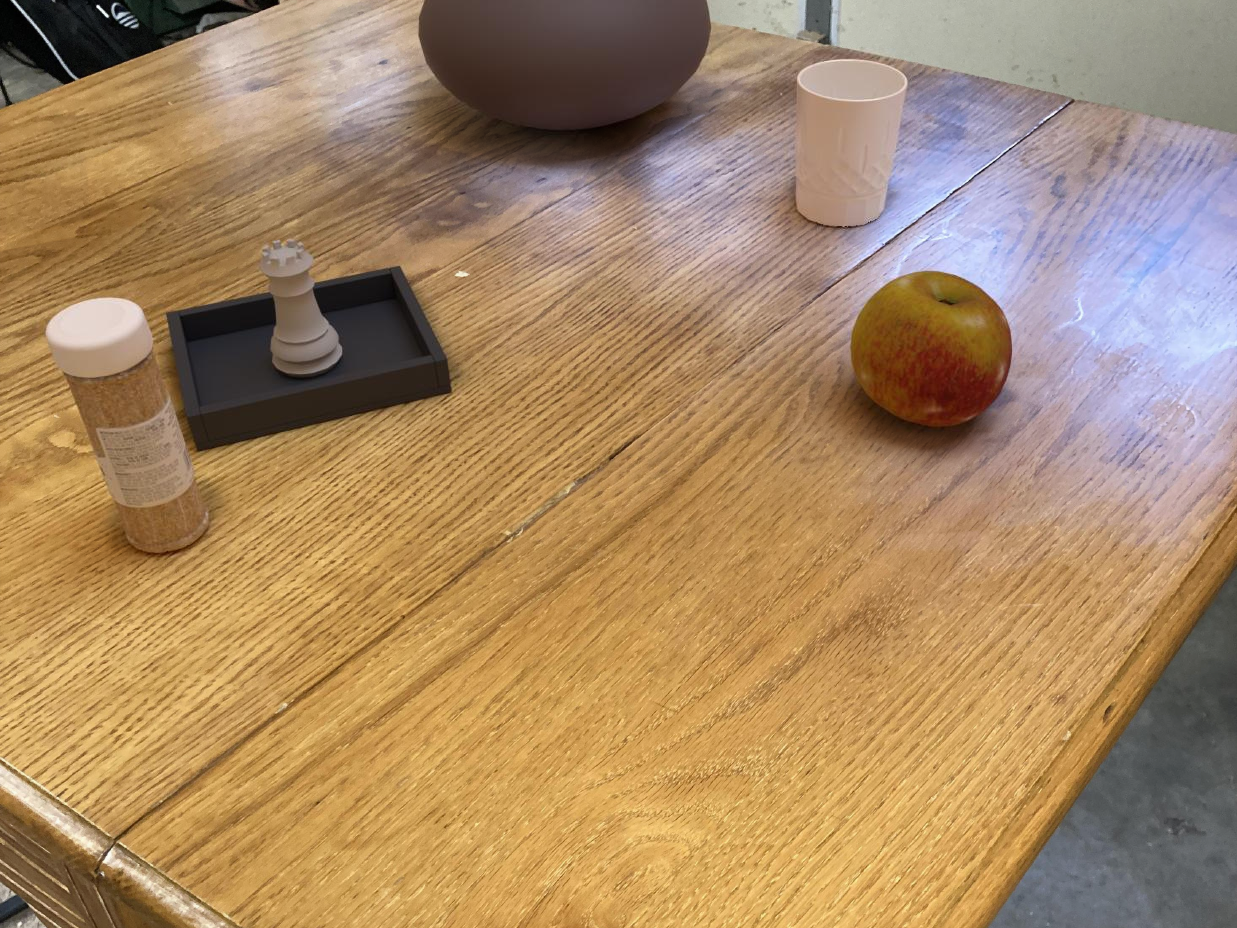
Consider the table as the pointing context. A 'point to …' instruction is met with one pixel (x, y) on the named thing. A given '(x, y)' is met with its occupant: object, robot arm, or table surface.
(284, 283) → the rook chess piece
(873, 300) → the fruit
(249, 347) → the tray
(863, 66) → the pale pink cup
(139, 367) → the sprinkles bottle
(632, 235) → the table surface
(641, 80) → the flattened ellipsoid
